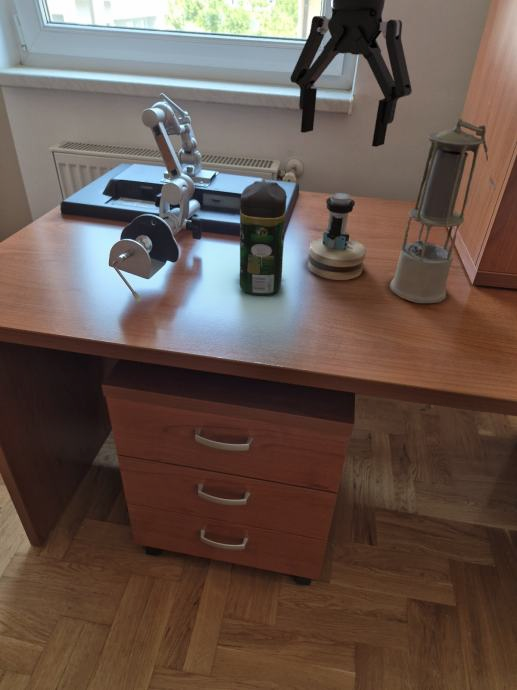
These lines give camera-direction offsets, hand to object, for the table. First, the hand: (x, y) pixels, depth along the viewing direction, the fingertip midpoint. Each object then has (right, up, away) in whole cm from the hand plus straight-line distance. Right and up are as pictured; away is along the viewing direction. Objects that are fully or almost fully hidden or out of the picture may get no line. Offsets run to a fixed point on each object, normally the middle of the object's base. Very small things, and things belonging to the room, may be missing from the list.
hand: (340, 138), depth 79 cm
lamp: (+18, -24, +12) cm, 32 cm away
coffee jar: (-13, -23, +11) cm, 29 cm away
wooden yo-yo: (+2, -18, +18) cm, 26 cm away
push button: (+2, -15, +16) cm, 22 cm away
